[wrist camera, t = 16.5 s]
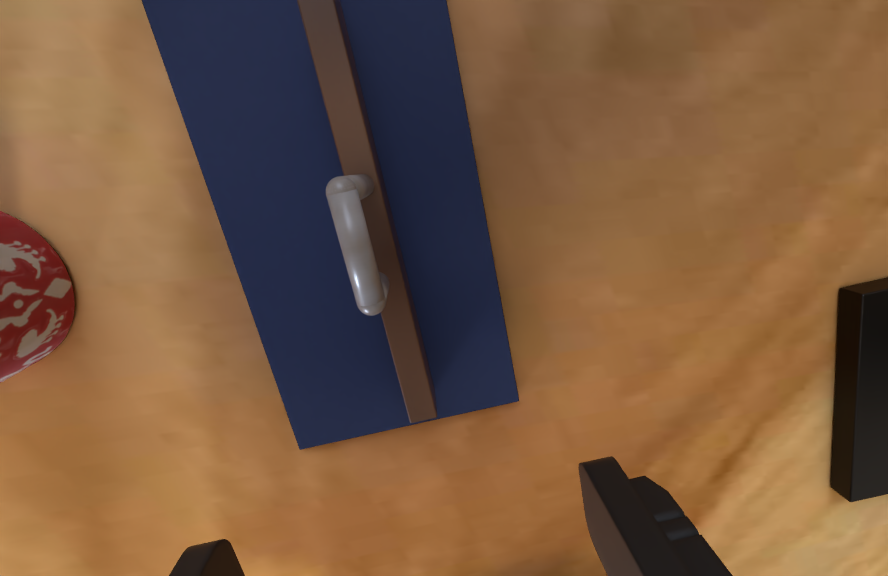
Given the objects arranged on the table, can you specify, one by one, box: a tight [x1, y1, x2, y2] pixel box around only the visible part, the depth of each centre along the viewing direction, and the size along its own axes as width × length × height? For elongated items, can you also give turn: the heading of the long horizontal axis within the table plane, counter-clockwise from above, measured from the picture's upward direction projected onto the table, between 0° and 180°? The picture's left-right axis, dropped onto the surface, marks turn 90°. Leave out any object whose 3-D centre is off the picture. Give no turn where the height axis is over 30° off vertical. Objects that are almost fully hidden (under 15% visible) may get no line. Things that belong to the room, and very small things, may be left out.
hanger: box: [297, 0, 437, 423], centre depth 15 cm, size 17×1×8 cm, turn 12°
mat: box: [142, 0, 519, 450], centre depth 19 cm, size 20×11×1 cm, turn 12°
